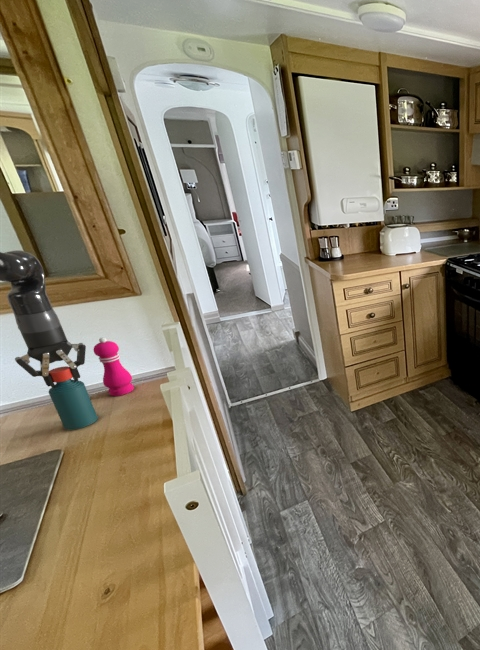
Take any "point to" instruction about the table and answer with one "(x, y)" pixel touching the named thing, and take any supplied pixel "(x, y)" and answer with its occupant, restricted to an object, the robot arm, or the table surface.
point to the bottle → (73, 404)
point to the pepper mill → (113, 368)
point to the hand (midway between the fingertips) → (64, 382)
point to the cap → (61, 374)
